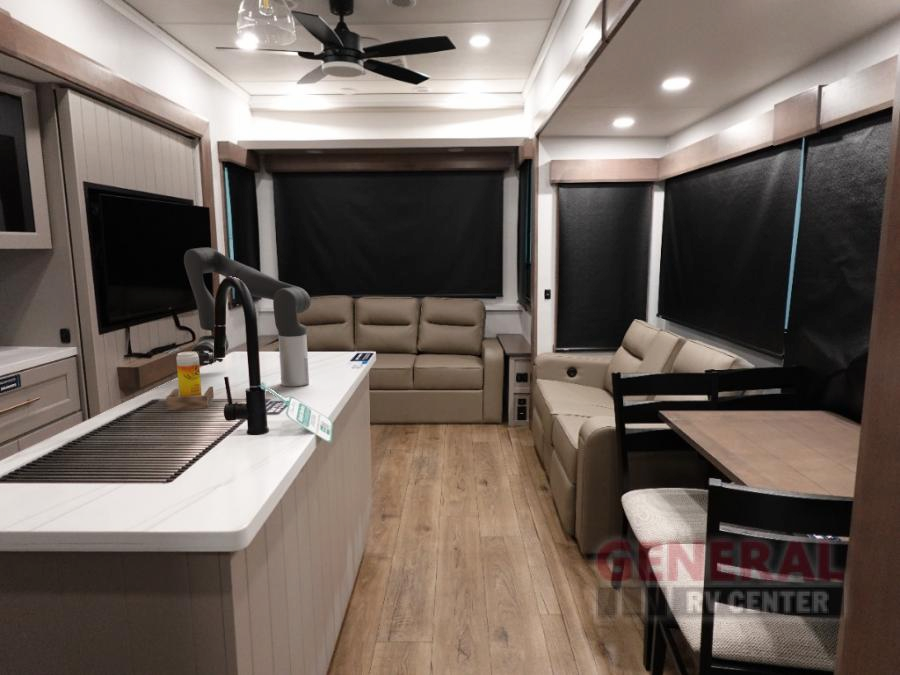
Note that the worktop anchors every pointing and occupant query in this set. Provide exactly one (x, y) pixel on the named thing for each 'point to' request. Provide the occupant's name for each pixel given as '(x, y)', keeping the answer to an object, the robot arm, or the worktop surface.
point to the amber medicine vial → (188, 374)
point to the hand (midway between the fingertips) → (195, 362)
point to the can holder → (189, 400)
